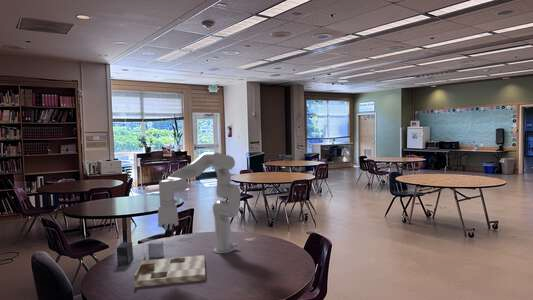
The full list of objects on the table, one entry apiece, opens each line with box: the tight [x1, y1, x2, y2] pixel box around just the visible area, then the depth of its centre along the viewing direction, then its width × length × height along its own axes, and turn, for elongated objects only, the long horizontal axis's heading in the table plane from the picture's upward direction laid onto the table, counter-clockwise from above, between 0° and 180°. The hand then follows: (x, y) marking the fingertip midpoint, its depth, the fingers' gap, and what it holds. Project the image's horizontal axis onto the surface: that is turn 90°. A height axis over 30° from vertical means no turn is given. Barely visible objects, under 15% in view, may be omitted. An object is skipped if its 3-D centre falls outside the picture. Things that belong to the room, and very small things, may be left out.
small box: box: [116, 241, 134, 266], centre depth 214 cm, size 11×6×10 cm, turn 5°
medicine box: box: [147, 241, 165, 258], centre depth 222 cm, size 8×4×9 cm, turn 84°
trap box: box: [133, 254, 206, 288], centre depth 195 cm, size 34×30×6 cm
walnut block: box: [141, 259, 155, 272], centre depth 192 cm, size 6×6×4 cm
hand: (169, 236), depth 195 cm, fingers closed
